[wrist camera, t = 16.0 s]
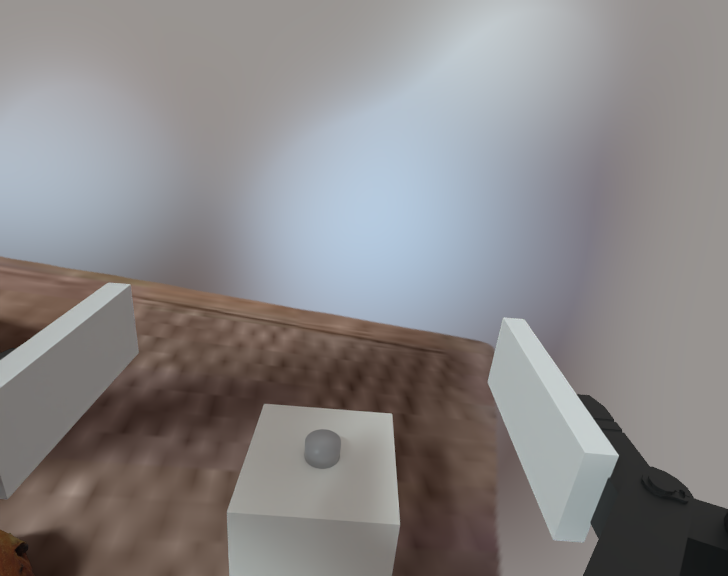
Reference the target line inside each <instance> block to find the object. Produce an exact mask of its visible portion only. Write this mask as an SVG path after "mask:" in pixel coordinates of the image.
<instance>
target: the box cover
mask: <svg viewBox="0 0 728 576" xmlns="http://www.w3.org/2000/svg"><path fill="white" fill-rule="evenodd" d="M227 529H228V553H229V576H392V572H393V566H394V560H395V553H396V547H397V541H398V535H399V529H400V515H399V501H398V487H397V474H396V460H395V446H394V432H393V418H392V414H390V413H377V412H364V411H351V410H338V409H325V408H313V407H300V406H287V405H274V404H264V406H263V409H262V411H261V414H260V417H259V420H258V423H257V426H256V429H255V432H254V435H253V438H252V441H251V443H250V446H249V449H248V452H247V455H246V458H245V461H244V464H243V467H242V470H241V472H240V475H239V478H238V481H237V484H236V487H235V490H234V493H233V496H232V499H231V501H230V504H229V507H228V510H227Z"/></svg>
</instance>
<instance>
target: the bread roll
mask: <svg viewBox="0 0 728 576" xmlns="http://www.w3.org/2000/svg"><path fill="white" fill-rule="evenodd" d="M27 550H28V544H27V543H26V542H24V541H21V540H19V539H18V538H16V537H14V536H13V535H12V534H11V533H9V534H8V533H6V532H4V531H2V530H0V576H35V575H34V574H33V571H32V567H31V565H30V562H29V560H28V558H27V555H26V551H27Z"/></svg>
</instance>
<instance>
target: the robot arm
mask: <svg viewBox="0 0 728 576" xmlns="http://www.w3.org/2000/svg"><path fill="white" fill-rule="evenodd" d="M138 353H139V351H138V343H137V334H136V326H135V318H134V309H133V301H132V292H131V285H130V284H119V283H107V284H106V285H104V286H103V287H101V288H100V289H99V290H97V291H96V292H95V293H93V294H92V295H90V296H89V297H88V298H86V299H85V300H83V301H82V302H81V303H79V304H78V305H76V306H75V307H74V308H72V309H71V310H69V311H68V312H67V313H65V314H64V315H62V316H61V317H60V318H58V319H57V320H56V321H54V322H53V323H51V324H50V325H49V326H47V327H46V328H44V329H43V330H42V331H40V332H39V333H37V334H36V335H35V336H33V337H32V338H30V339H29V340H28V341H26V342H25V343H24V344H22V345H21V346H19V347H18V348H11V349H9V350H6V351H4V352H2V353H0V499H8V498H9V497H10V496H11V495H12V494H13V493H14V491H15V490H16V489H17V488H18V487H19V486H20V485H21V484H22V483H23V481H24V480H25V479H26V478H27V477H28V476H29V475H30V474H31V472H32V471H33V470H34V469H35V468H36V467H37V466H38V465H39V464H40V462H41V461H42V460H43V459H44V458H45V457H46V456H47V455H48V453H49V452H50V451H51V450H52V449H53V448H54V447H55V446H56V445H57V443H58V442H59V441H60V440H61V439H62V438H63V437H64V436H65V434H66V433H67V432H68V431H69V430H70V429H71V428H72V427H73V426H74V424H75V423H76V422H77V421H78V420H79V419H80V418H81V417H82V415H83V414H84V413H85V412H86V411H87V410H88V409H89V408H90V407H91V405H92V404H93V403H94V402H95V401H96V400H97V399H98V398H99V396H100V395H101V394H102V393H103V392H104V391H105V390H106V389H107V388H108V386H109V385H110V384H111V383H112V382H113V381H114V380H115V379H116V377H117V376H118V375H119V374H120V373H121V372H122V371H123V370H124V369H125V367H126V366H127V365H128V364H129V363H130V362H131V361H132V360H133V358H134V357H135V356H136V355H137V354H138ZM488 384H489V387H490V389H491V391H492V394H493V396H494V399H495V401H496V404H497V406H498V408H499V411H500V413H501V415H502V418H503V420H504V423H505V425H506V427H507V430H508V432H509V435H510V437H511V440H512V442H513V444H514V447H515V449H516V452H517V454H518V457H519V459H520V461H521V464H522V466H523V469H524V471H525V473H526V476H527V478H528V480H529V483H530V486H531V488H532V490H533V493H534V495H535V498H536V500H537V502H538V505H539V507H540V509H541V512H542V514H543V517H544V519H545V521H546V524H547V526H548V529H549V531H550V534H551V536H552V538H553V540H559V541H572V542H584V541H585V538H586V536H587V533H588V531H589V529H590V526H591V525H592V527H593V529H594V531H595V533H596V535H597V537H598V538H599V540H598V542H597V545H596V547H595V549H594V551H593V554H592V556H591V558H590V561H589V563H588V565H587V568H586V570H585V572H584V574H583V576H728V509H725V508H723V507H719V506H716V505H713V504H710V503H706V502H703V501H699V500H697V499H694V498H693V496H692V494H691V493H690V491H689V490H688V488H687V487H686V486H685V485H684V484H682V483H681V482H680V481H679V480H678V479H677V478H675V477H673V476H671V475H670V474H668V473H667V472H665V471H662V470H659V469H657V468H654V467H650V466H649V465H648V464H647V462H646V461H645V460H644V458H643V457H642V456H641V454H640V453H639V452H638V450H637V449H636V448H635V447H634V445H633V444H632V443H631V441H630V440H629V439H628V438H627V436H626V435H625V433H622V429H621V428H620V427H619V426H618V424H617V423H616V422H614V419H613V417H611V415H610V413H609V412H608V411H607V409H606V408H605V407H604V406H603V405H601V404H600V403H599V402H597V401H596V400H595V399H593V398H592V397H591V396H589V395H579V394H576V393H575V392H574V390H573V389H572V387H571V386H570V384H569V383H568V382H567V380H566V379H565V377H564V376H563V374H562V373H561V371H560V370H559V369H558V367H557V366H556V364H555V363H554V361H553V360H552V358H551V357H550V356H549V354H548V353H547V351H546V350H545V348H544V347H543V346H542V344H541V343H540V341H539V340H538V339H537V337H536V335H534V333H533V331H532V330H531V328H530V327H529V325H528V324H527V323H526V321H525V320H524V319H515V318H503V320H502V324H501V328H500V332H499V336H498V341H497V345H496V349H495V353H494V357H493V362H492V366H491V370H490V374H489V378H488Z"/></svg>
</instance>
